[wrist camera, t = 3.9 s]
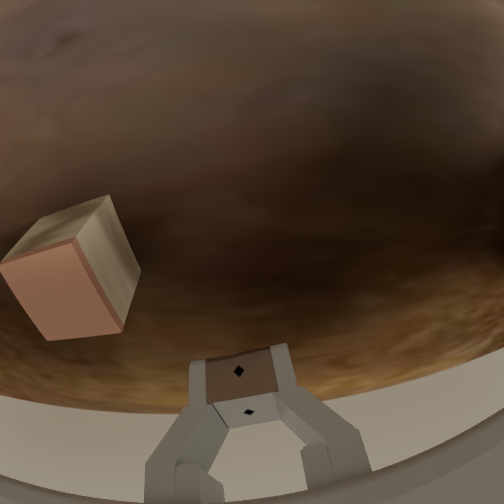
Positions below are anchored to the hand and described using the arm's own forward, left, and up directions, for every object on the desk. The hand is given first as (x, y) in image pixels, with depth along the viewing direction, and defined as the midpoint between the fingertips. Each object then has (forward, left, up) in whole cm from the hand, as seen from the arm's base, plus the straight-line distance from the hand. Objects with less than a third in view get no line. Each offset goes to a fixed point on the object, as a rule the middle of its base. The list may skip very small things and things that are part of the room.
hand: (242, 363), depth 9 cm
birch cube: (+10, 0, -12) cm, 16 cm away
